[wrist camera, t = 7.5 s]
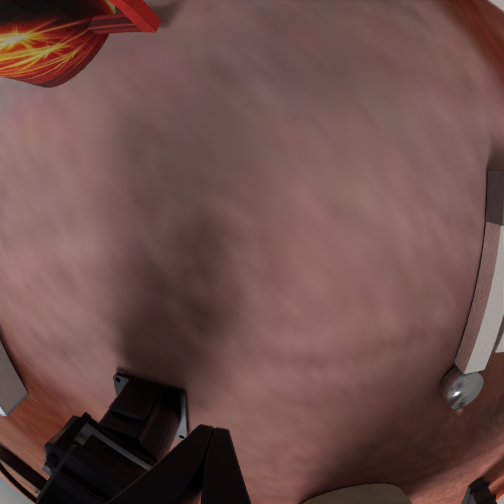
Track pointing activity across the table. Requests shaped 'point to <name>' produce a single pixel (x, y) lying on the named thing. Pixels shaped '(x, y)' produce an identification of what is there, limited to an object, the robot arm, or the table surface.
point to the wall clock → (21, 475)
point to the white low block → (9, 385)
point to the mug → (62, 35)
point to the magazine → (479, 493)
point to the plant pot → (363, 495)
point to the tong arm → (481, 306)
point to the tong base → (499, 339)
